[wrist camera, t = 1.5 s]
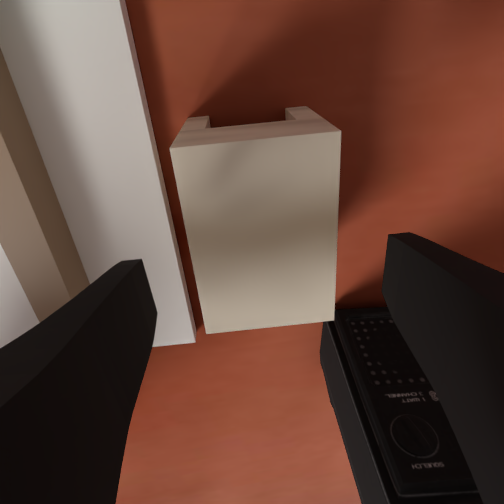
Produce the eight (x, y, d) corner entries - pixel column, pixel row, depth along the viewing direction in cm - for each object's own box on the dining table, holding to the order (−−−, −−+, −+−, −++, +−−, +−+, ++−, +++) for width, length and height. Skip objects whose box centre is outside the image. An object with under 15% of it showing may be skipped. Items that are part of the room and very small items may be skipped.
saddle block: (307, 252, 21) (334, 320, 16) (211, 262, 21) (206, 333, 15) (306, 105, 17) (341, 130, 12) (187, 117, 17) (169, 148, 12)
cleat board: (196, 331, 23) (189, 396, 19) (11, 350, 23) (-39, 420, 19) (108, -77, 13) (49, -139, 9) (-218, -45, 13) (-440, -93, 9)
